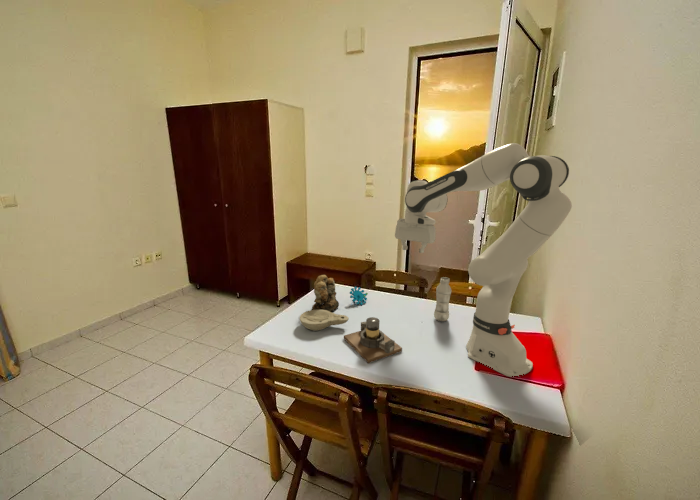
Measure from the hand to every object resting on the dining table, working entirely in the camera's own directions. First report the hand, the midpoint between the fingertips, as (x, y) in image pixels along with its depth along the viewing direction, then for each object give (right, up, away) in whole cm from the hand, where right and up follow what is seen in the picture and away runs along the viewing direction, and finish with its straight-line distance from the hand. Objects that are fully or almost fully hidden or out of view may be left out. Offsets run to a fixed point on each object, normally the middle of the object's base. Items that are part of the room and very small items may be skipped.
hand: (412, 251), depth 133 cm
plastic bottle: (+14, -31, +6) cm, 35 cm away
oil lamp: (-38, -33, -1) cm, 50 cm away
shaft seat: (-19, -36, -15) cm, 43 cm away
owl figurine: (-39, -28, +16) cm, 51 cm away
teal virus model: (-23, -26, +23) cm, 42 cm away
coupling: (-19, -35, -15) cm, 42 cm away
